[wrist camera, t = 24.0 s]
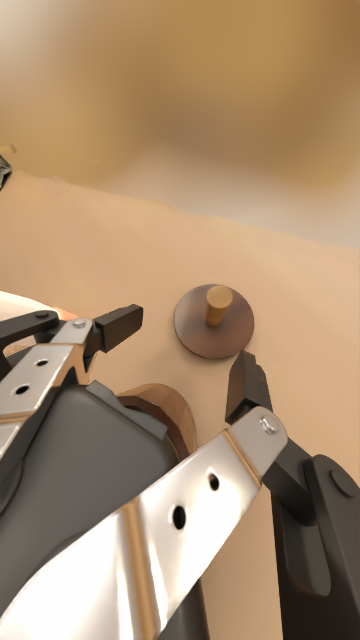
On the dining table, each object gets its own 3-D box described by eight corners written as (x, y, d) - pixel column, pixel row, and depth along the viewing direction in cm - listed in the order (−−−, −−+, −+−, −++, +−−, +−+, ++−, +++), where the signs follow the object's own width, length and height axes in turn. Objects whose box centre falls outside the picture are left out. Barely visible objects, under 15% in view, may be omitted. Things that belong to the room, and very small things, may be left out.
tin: (104, 406, 20) (41, 433, 12) (172, 369, 20) (157, 372, 12) (127, 506, 16) (59, 647, 8) (212, 459, 16) (226, 547, 8)
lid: (163, 307, 24) (148, 280, 16) (223, 277, 25) (235, 236, 17) (196, 373, 20) (196, 379, 12) (268, 335, 20) (311, 317, 13)
